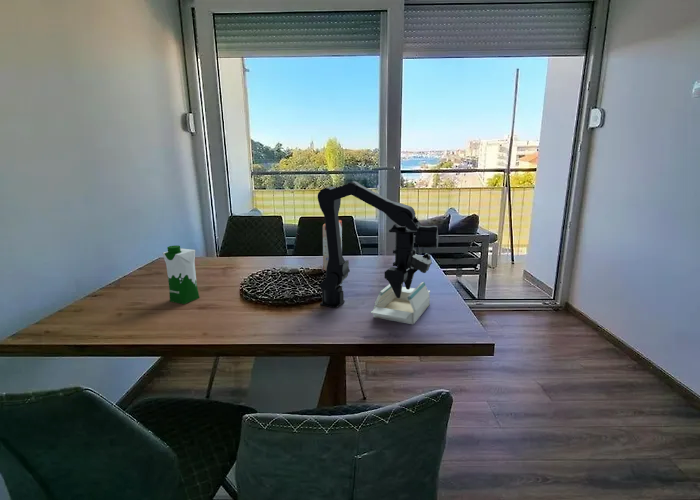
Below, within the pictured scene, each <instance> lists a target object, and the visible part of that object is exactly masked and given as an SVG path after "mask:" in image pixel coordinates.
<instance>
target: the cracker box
mask: <svg viewBox="0 0 700 500" xmlns="http://www.w3.org/2000/svg"><path fill="white" fill-rule="evenodd" d="M342 222H343V221H342V220H341V219H339V228H340V239H341V249H342V250H343V241H342V240H343V238H342V237H343V235H342V234H343V223H342ZM328 260H329V255H328V245H327V236H326V226H325V223H324V224H323V225H322V263H323V264H322V266H323V268H322V269H323V270H325V272H326V269H327V264H328Z"/></svg>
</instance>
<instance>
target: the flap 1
mask: <svg viewBox="0 0 700 500" xmlns="http://www.w3.org/2000/svg"><path fill="white" fill-rule="evenodd" d="M391 292H393V289H392V287H391V285H390V283H388V285H386V286H385V287H384V288H383V289H381V290H380V291H379V293H378V296H377V297H376V300H375V301H374V306H375V305H377V304H378V303H380V302H381V301H382V300H383V299H384V298H385V297H387V296H388V295H389V294H390V293H391Z"/></svg>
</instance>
